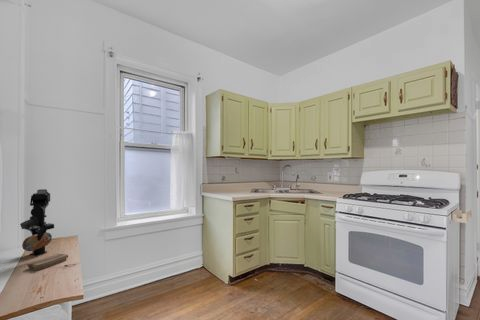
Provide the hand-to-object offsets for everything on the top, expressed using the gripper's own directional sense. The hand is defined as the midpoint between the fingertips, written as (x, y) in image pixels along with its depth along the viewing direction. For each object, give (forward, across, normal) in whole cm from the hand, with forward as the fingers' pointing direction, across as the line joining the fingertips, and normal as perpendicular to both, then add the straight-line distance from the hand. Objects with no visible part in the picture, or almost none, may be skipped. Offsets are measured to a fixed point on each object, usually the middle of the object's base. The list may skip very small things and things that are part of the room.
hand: (37, 240), depth 144 cm
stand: (+12, +12, -2) cm, 17 cm away
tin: (+5, 0, 0) cm, 5 cm away
